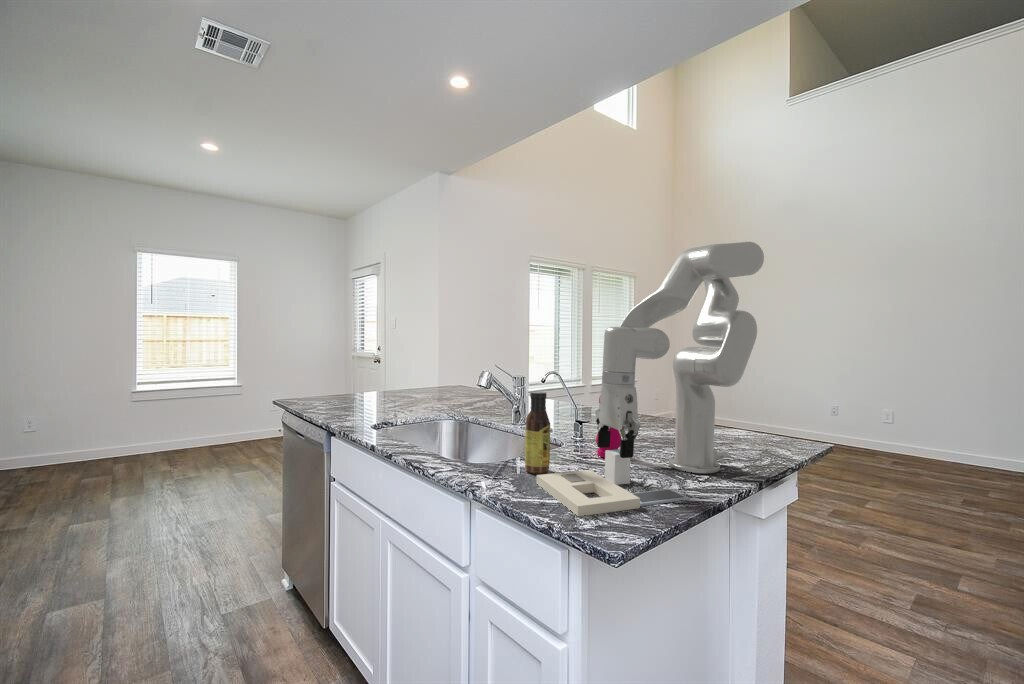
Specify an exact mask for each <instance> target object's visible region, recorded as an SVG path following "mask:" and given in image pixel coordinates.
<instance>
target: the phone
mask: <svg viewBox="0 0 1024 684" xmlns="http://www.w3.org/2000/svg"><path fill="white" fill-rule="evenodd" d="M631 493H632V494H633V495H635V496H637V497H639V498H640V507H642V506H643V507H644V506H650V505H657V504H659V505H660V504H665V503H666V502H667V503H674V502H673V501H675V502H680V501H679V500H683V501H688V500H687V499H689V500H690V497H689V496H686V495H684V494H683V493H680V492H678V491H676V490H674V489H673V488H667V489H666V488H665V489H664V488H662V489H657V490H648V491H647V490H646V491H640V492H639V491H638V492H631ZM667 503H666V504H667Z"/></svg>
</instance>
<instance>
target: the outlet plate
mask: <svg viewBox="0 0 1024 684" xmlns="http://www.w3.org/2000/svg"><path fill="white" fill-rule="evenodd" d="M537 484H538V485H537ZM536 485H537V486H539V487H540V488H541V487H542V488H543V489H542V488H541V489H542V490H543V491H545V492H546V493H547V492H548V493H547V494H548V495H550V496H551V495H552V496H553V497H552V496H551V497H552V498H553V499H555V500H556V499H557V500H558V501H557V500H556V501H557V502H559V504H561V503H562V504H563V505H562V504H561V505H562V506H563V507H565V506H566V507H567V508H568V509H567V508H566V507H565V508H566V509H567V510H569V511H570V510H571V511H572V512H573V513H572V512H571V511H570V512H571V513H572V514H573V515H575V514H576V515H577V516H579V517H585V516H584V515H586V516H592V515H593V516H594V515H599V514H600V515H601V514H608V513H614V512H621V511H622V512H623V511H628V510H636V509H640V508H641V506H640V498H639V497H637V496H635V495H633V494H632V493H633V492H630V491H629V490H626V489H624V488H623V487H621V486H619V485H616V484H614V483H612V482H611V481H609V480H607V479H605V476H604V477H603V476H602V475H600V474H599V473H596V472H595V471H593V470H592V469H585V470H575V471H566V472H565V471H564V472H555V473H542V474H536ZM589 493H594V494H595V495H597V496H598V497H597V496H596V497H588V496H587V495H585V494H589ZM576 515H575V516H576ZM577 516H576V517H577Z"/></svg>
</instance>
